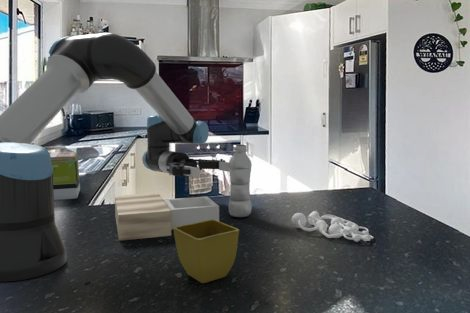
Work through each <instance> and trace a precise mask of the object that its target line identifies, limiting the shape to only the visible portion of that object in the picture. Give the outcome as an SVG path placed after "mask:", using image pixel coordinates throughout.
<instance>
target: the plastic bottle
mask: <svg viewBox="0 0 470 313" xmlns="http://www.w3.org/2000/svg"><path fill="white" fill-rule="evenodd" d="M232 148H233V150H232V152H233V155H232V156H231V157H230V159H229V172H228V173H229V178H230V179H229V180H230V190H229V191H230V192H229V200H228V213H229V215H230V216H231V217H234V218H235V217H236V218H245V217H248V216H250V214H251V213H252V209H253V208H252V201H251V192H250V183H251V172H252V166H253V165H252V160H251V159H250V157H249V156H248V154H247V152H248V149H247V144H233V147H232Z"/></svg>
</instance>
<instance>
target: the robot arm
mask: <svg viewBox="0 0 470 313" xmlns="http://www.w3.org/2000/svg"><path fill="white" fill-rule="evenodd" d="M48 54H49V56H48V57H47V62H46V68H47V69H46V70H45V71H43V72H42V74H41V75H39V77H37V78H36V80H35V81H34V82H32V84H31V85H29V87H28V88H26V90H25V91H23V92H22V93H21V94H20V95H19V96H18V97H17V99H15V100H14V101H13V102H12V103H11V104H10V105H9V106H8V107H7V108H6V109H5V110H4V111H2V113H1V114H0V282H1V283H2V282H3V283H4V282H5V283H6V282H16V281H24V280H29V279H34V278H38V277H41V276H45V275H47V274H50V273H52V272H55V271H57V270H58V269H60V268H61V267H63V266H65V264H66V263H67V261H68V260H67V259H68V257H67V248H66V246H65V243H64V241H63V239H62V237H61V234H60V232H59V229H58V227H57V225H56V219H55V200H54V190H53V167H52V164H51V156H50V153H51V152H50V151H49V150H48V149H47V148H45V147H44V146H41V145H37V144H32V143H33V142H34V141H35V140H36V139H37V137H38V136H39V135H40V134H41V133H42V132H43V131H44V130H45V129H46V127H47V126H48V125H49V124H50V123H51V122H52V121H53V119H55V117H56V116H57V115H58V114H59V113H60V112H61V111H62V109H63V108H64V107H65V106H66V104H68V102H70V101H71V99H72V98H73V97H74V96H75V94H84V93H85V92H86V91H88V90H89V89H90V87H91V86H92V85H93V84H94V83H95V82H96V81H102V80H103V81H105V80H116V81H119V82H121V83H124V85H125V86H126V87H127V88H128V89H131V90H135V91H136V92H137V93H138V94H139V95H140V96H141V98H142V99H143V100H144V101H145V102H146V103H147V104H148V105H149V106H150V108H152V109H153V110H154V112H155V113H156V114H157V115H155V114H154V115H148V116H147V118H146V135H147V137H146V139H147V150H145V152H144V153H143V155H142V158H141V160H142V164H143V165H144V167H145V168H146V169H148V170H150V171H153V172H158V173H159V172H160V173H165V174H168V175H169V176H173V177H174V176H175V177H176V176H178V177H179V178H184V176H187V177H189V178H190V177H192V178H195V179H196V178H197V179H199V178H201V171H202V170H219V171H222V172H228V173H229V162H228V161H226V160H224V159H223V158H220V159H202V158H198V159H197V158H195V159H194V158H190V157H189V155H188V154H186V153H185V152H179V151H173V150H170V147H171V146H170V144H184V145H203V144H206V142H207V141H208V140H209V132H210V130H209V126H208V124H207V122H205V121H203V120H202V121H201V120H196V119H195V118H193V116H192V115H191V114H190V112H189V110H187V108H185V106H184V105H183V104H182V102H181V101H180V100H179V98H178V97H177V96H176V94H175V93H174V92H173V91H172V90H171V88H170V87H169V86H168V85H167V83H166V82H165V81H164V80H163V79H162V76H160V74H158V72H157V66H156V64H155V62H154V61H153V60H152V58H151V57H150V56H149V55H148V54H147V53H146V52H145V50H143V49H142V48H140V47H139V45H137V44H135V43H134V42H133V41H131V40H129V39H127V37H124V36H122V35H119V34H117V33H112V32H102V33H94V34H83V35H67V36H64V37H61V38H59V39H57V40H56V41H54V43H52V45H51V46H50V48H49V51H48Z"/></svg>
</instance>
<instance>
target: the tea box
mask: <svg viewBox="0 0 470 313" xmlns="http://www.w3.org/2000/svg"><path fill="white" fill-rule="evenodd" d="M49 153H50V156H51V164H52V167H53V190H54V201H59V200H60V201H61V200H72V199H78V197H79V194H80V190H81V184H80V183H81V182H80V169H79V157H78V155H79V154H78V151H54V152H52V151H51V152H49Z"/></svg>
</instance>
